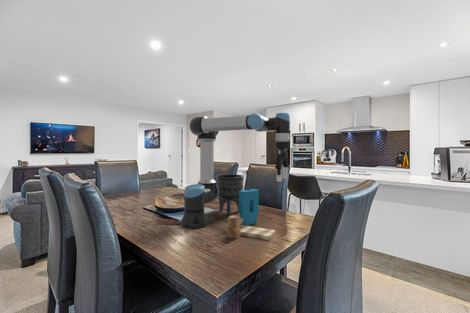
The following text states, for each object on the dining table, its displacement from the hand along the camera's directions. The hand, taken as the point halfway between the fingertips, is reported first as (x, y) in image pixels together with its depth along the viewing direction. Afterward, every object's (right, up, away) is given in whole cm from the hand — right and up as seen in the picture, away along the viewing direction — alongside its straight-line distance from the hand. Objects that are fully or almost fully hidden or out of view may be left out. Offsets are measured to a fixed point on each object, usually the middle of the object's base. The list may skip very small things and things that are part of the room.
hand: (282, 180), depth 124 cm
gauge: (-25, -28, -5) cm, 38 cm away
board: (-18, -28, -4) cm, 33 cm away
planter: (-30, -27, +36) cm, 54 cm away
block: (-18, -28, +13) cm, 35 cm away
